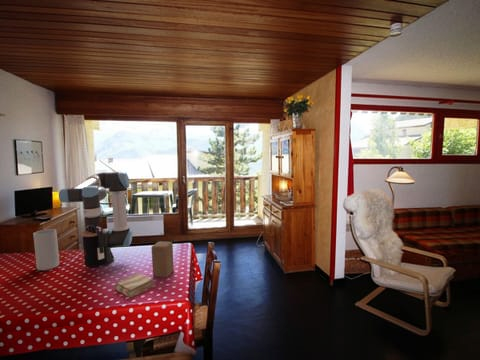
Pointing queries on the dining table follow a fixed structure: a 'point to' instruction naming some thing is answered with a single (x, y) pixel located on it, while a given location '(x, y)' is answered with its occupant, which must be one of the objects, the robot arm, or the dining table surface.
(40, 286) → the dining table surface
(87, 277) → the dining table surface
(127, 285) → the plinth
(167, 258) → the wooden block
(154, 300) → the dining table surface
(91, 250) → the coffee jar
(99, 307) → the dining table surface
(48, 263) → the cylinder vase
